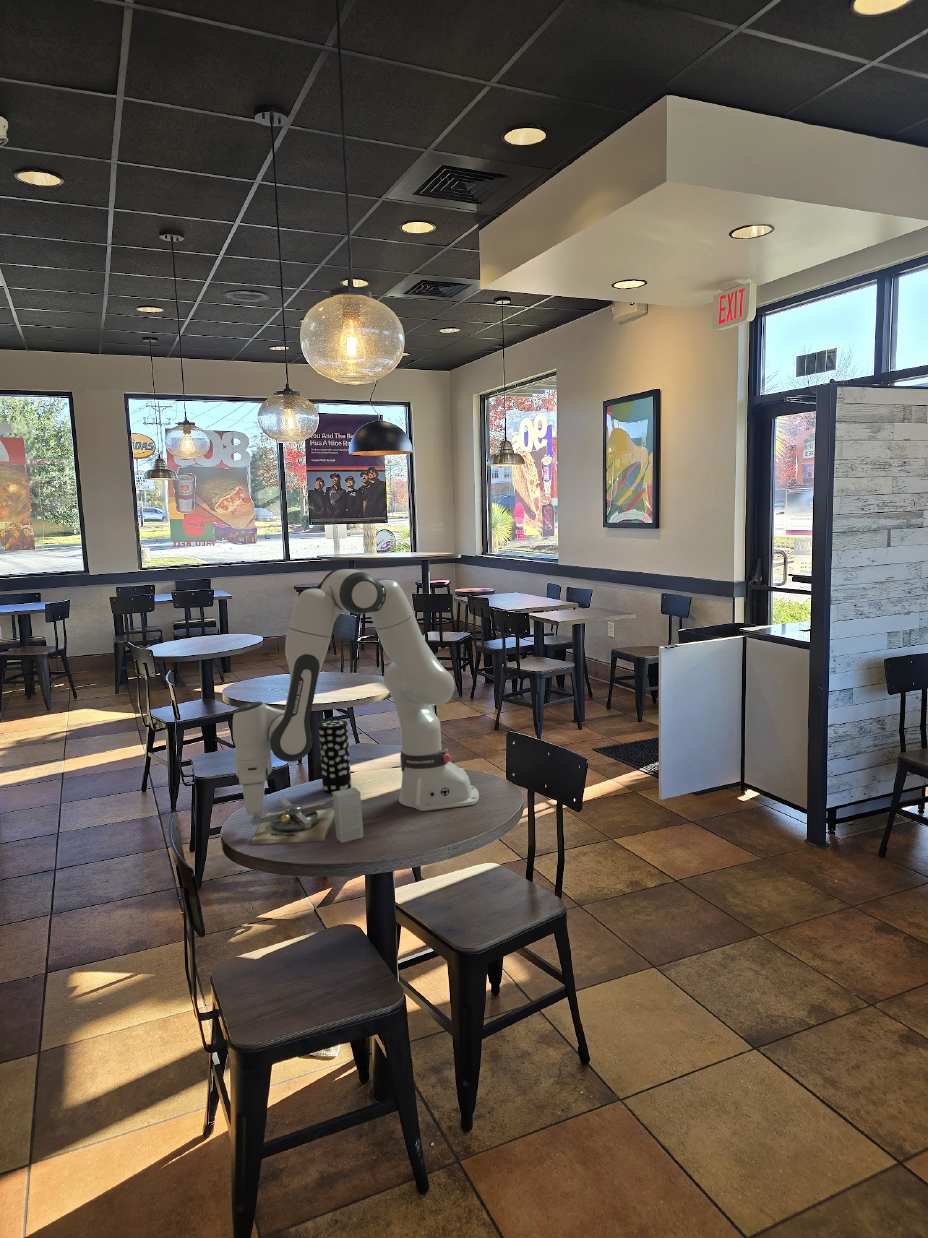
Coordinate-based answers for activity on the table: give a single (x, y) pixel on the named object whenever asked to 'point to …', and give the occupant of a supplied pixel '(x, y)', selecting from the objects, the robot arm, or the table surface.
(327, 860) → the table surface
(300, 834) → the beige base plate
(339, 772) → the spotted tube
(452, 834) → the table surface
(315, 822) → the capstan
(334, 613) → the robot arm
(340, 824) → the skincare box
